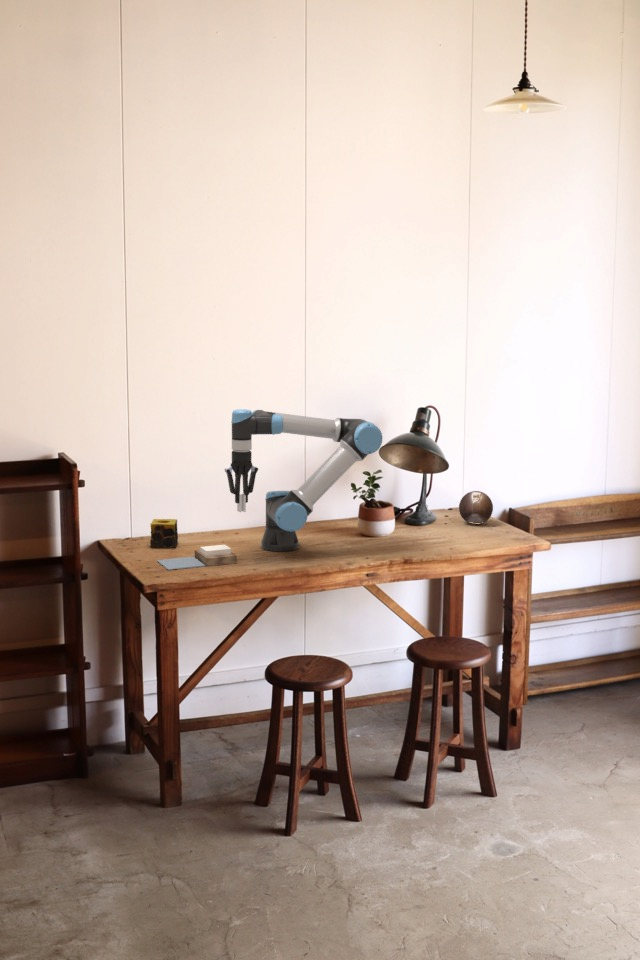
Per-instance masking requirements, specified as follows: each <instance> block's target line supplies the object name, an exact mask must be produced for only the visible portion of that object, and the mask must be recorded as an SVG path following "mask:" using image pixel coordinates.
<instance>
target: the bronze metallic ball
mask: <svg viewBox="0 0 640 960" xmlns="http://www.w3.org/2000/svg"><path fill="white" fill-rule="evenodd" d="M458 509H459V510H458V511H459V515H460V516H461V518H462V519H463V521H464V522H466V521H467V523H468V522H473V523H482V522H484V523H486V522H488V520H489V519H491V517H492V514H493V512H494V505H493V502H492V499H491V498H490V496H489V495H488V494H486V493H485V492H483V491H478V490H472V491H469V492H467V493H466V494H464V495H463V496H462V497H461V499H460V501H459V505H458ZM482 524H483V523H482Z"/></svg>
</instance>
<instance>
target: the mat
mask: <svg viewBox="0 0 640 960" xmlns="http://www.w3.org/2000/svg"><path fill="white" fill-rule="evenodd" d="M157 561H158V562H159V564H160V565H161V566H162V565H163V566H164V567H165V568H164V567H163V566H162V567H163V568H164V569H165V570H167V569H168V570H167V571H173V570H172V569H177V570H185V568H187V569H193V568H194V569H196V567H197V568H204V567H206V566H205V565H204V564H203V563H201V562H200V561H199V560H197V559H196V558H195V556H184V557H174V558H166V559H165V558H163V559H157V560H156V562H157ZM158 562H157V563H158Z"/></svg>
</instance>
